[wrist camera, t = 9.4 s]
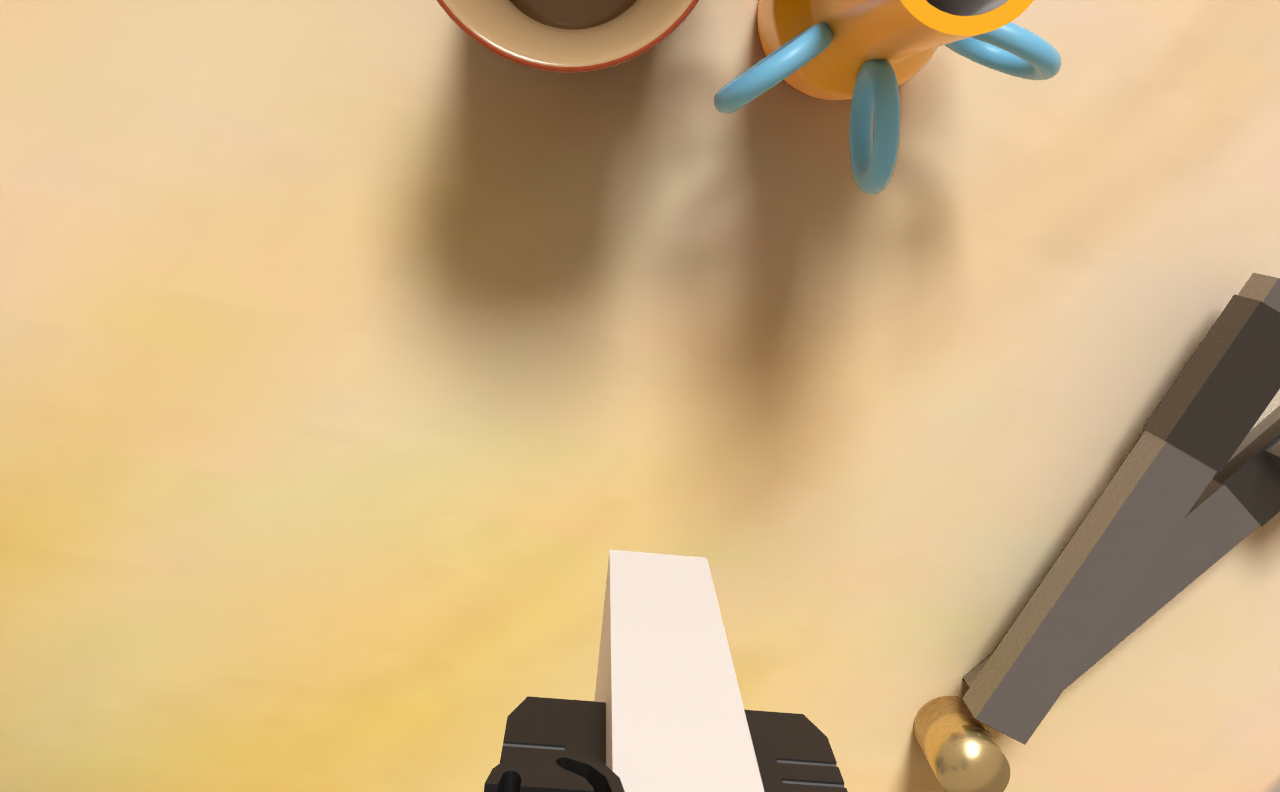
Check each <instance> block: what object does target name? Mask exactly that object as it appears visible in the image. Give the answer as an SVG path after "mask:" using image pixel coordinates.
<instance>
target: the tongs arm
mask: <svg viewBox="0 0 1280 792" xmlns="http://www.w3.org/2000/svg"><path fill="white" fill-rule="evenodd" d="M1279 389H1280V279H1279V278H1275V277H1270V276H1266V275H1261V274H1256V273H1253V274H1252V275H1251V277H1250V278H1249V280H1248V281H1247V282H1246V284H1245V285H1244V287H1243V288H1242V290H1241V291H1240V293H1239V294H1238V295H1234V296H1233V297H1232V299H1231V300H1230V302H1229V303H1228V305H1227V306H1226V308H1225V309H1224V311H1223V312H1222V313H1221V315H1220V316H1219V318H1218V319H1217V321H1216V322H1215V324H1214V325H1213V327H1212V328H1211V330H1210V331H1209V332H1208V334H1207V335H1206V337H1205V338H1204V340H1203V341H1202V343H1201V344H1200V346H1199V347H1198V349H1197V350H1196V352H1195V353H1194V354H1193V356H1192V357H1191V359H1190V360H1189V362H1188V363H1187V365H1186V366H1185V368H1184V369H1183V371H1182V372H1181V374H1180V375H1179V376H1178V378H1177V379H1176V381H1175V382H1174V384H1173V385H1172V387H1171V388H1170V390H1169V391H1168V393H1167V394H1166V395H1165V397H1164V398H1163V400H1162V401H1161V403H1160V404H1159V406H1158V407H1157V409H1156V410H1155V412H1154V413H1153V415H1152V416H1151V417H1150V419H1149V420H1148V422H1147V423H1146V425H1145V426H1144V428H1143V429H1144V430H1145V432H1144V433H1143V435H1142V436H1141V438H1140V439H1139V441H1138V442H1137V443H1136V445H1135V446H1134V448H1133V449H1132V451H1131V452H1130V454H1129V455H1128V457H1127V458H1126V460H1125V461H1124V462H1123V464H1122V465H1121V467H1120V468H1119V470H1118V471H1117V473H1116V474H1115V476H1114V477H1113V479H1112V480H1111V482H1110V483H1109V484H1108V486H1107V487H1106V489H1105V490H1104V492H1103V493H1102V495H1101V496H1100V498H1099V499H1098V501H1097V502H1096V503H1095V505H1094V506H1093V508H1092V509H1091V511H1090V512H1089V514H1088V515H1087V517H1086V518H1085V520H1084V521H1083V523H1082V524H1081V525H1080V527H1079V528H1078V530H1077V531H1076V533H1075V534H1074V536H1073V537H1072V539H1071V540H1070V542H1069V543H1068V544H1067V546H1066V547H1065V549H1064V550H1063V552H1062V553H1061V555H1060V556H1059V558H1058V559H1057V561H1056V562H1055V563H1054V565H1053V566H1052V568H1051V569H1050V571H1049V572H1048V574H1047V575H1046V577H1045V578H1044V580H1043V581H1042V583H1041V584H1040V585H1039V587H1038V588H1037V590H1036V591H1035V593H1034V594H1033V596H1032V597H1031V599H1030V600H1029V602H1028V603H1027V604H1026V606H1025V607H1024V609H1023V610H1022V612H1021V613H1020V615H1019V616H1018V618H1017V619H1016V621H1015V622H1014V623H1013V625H1012V626H1011V628H1010V629H1009V631H1008V632H1007V634H1006V635H1005V637H1004V638H1003V640H1002V641H1001V643H1000V644H999V645H998V647H997V648H996V650H995V651H994V653H993V654H992V656H991V657H990V659H989V660H988V662H987V663H986V664H985V666H984V667H983V669H982V670H981V672H980V673H979V675H978V676H977V678H976V679H975V681H974V682H973V684H972V685H971V686H970V688H969V689H968V691H967V692H966V694H965V695H964V697H963V698H962V699H963V700H964V702H965V704H966V705H967V707H968V708H969V710H970V711H971V713H972V714H973V716H974V718H975V719H977V720H979V721H981V722H982V723H984V724H986V725H988V726H990V727H992V728H994V729H996V730H998V731H1000V732H1002V733H1004V734H1006V735H1007V736H1009V737H1011V738H1013V739H1015V740H1017V741H1019V742H1021V743H1023V744H1026V743H1027V741H1028V740H1029V738H1030V737H1031V736H1032V734H1033V733H1034V731H1035V730H1036V728H1037V727H1038V726H1039V724H1040V723H1041V721H1042V720H1043V718H1044V717H1045V716H1046V714H1047V713H1048V711H1049V710H1050V709H1051V707H1052V706H1053V704H1054V703H1055V701H1056V700H1057V699H1058V697H1059V696H1060V694H1061V693H1062V691H1063V690H1064V689H1065V687H1066V686H1067V684H1068V683H1069V682H1070V680H1071V679H1072V677H1073V676H1074V674H1075V673H1076V672H1077V670H1078V669H1079V667H1080V666H1081V664H1082V663H1083V662H1084V660H1085V659H1086V657H1087V656H1088V655H1089V653H1090V652H1091V650H1092V649H1093V647H1094V646H1095V645H1096V643H1097V642H1098V640H1099V639H1100V637H1101V636H1102V635H1103V633H1104V632H1105V630H1106V629H1107V628H1108V626H1109V625H1110V623H1111V622H1112V620H1113V619H1114V618H1115V616H1116V615H1117V613H1118V612H1119V610H1120V609H1121V608H1122V606H1123V605H1124V603H1125V602H1126V600H1127V599H1128V598H1129V596H1130V595H1131V593H1132V592H1133V591H1134V589H1135V588H1136V586H1137V585H1138V583H1139V582H1140V581H1141V579H1142V578H1143V576H1144V575H1145V573H1146V572H1147V571H1148V569H1149V568H1150V566H1151V565H1152V564H1153V562H1154V561H1155V559H1156V558H1157V556H1158V555H1159V554H1160V552H1161V551H1162V549H1163V548H1164V546H1165V545H1166V544H1167V542H1168V541H1169V539H1170V538H1171V537H1172V535H1173V534H1174V532H1175V531H1176V529H1177V528H1178V527H1179V525H1180V524H1181V522H1182V521H1183V519H1184V518H1185V517H1186V515H1187V514H1188V512H1189V511H1190V510H1191V508H1192V507H1193V505H1194V504H1195V502H1196V501H1197V500H1198V498H1199V497H1200V495H1201V494H1202V492H1203V491H1204V490H1205V488H1206V487H1207V485H1208V484H1209V483H1210V481H1211V480H1212V478H1213V477H1214V475H1215V474H1216V473H1217V471H1218V472H1219V473H1221V471H1222V470H1223V468H1224V467H1225V465H1226V464H1227V463H1228V461H1229V460H1230V458H1231V457H1232V456H1233V454H1234V453H1235V451H1236V450H1237V448H1238V447H1239V446H1240V444H1241V443H1242V441H1243V440H1244V438H1245V437H1246V436H1247V434H1248V433H1249V431H1250V430H1251V429H1252V427H1253V426H1254V424H1255V423H1256V421H1257V420H1258V419H1259V417H1260V416H1261V414H1262V413H1263V412H1264V410H1265V409H1266V407H1267V406H1268V404H1269V403H1270V402H1271V400H1272V399H1273V397H1274V396H1275V394H1276V393H1277V392H1278V390H1279Z"/></svg>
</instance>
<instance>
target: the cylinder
mask: <svg viewBox="0 0 1280 792" xmlns="http://www.w3.org/2000/svg"><path fill="white" fill-rule="evenodd" d="M1033 1H1034V0H759V4H758V16H757V19H758V31H759V37H760V41H761V45H762V48H763V51H764V53H765V55H766V57H765V58H763V59H762V60H760V61H759V62H758V63H756V64H755V65H753V66H752V67H750V68H749V69H748V70H746V71H745V72H743V73H742V74H741V75H739V76H738V77H736V78H735V79H734V80H732V81H731V82H730V83H728V84H727V85H726V86H724V87H723V88H722V89H720V90H719V91H718V92H717V94H716V95H715V98H714V104H715V107H716V109H717V110H718V111H720V112H721V113H731V112H734V111H736V110H737V109H739V108H741V107H743V106H744V105H746V104H748V103H749V102H751V101H752V100H754V99H755V98H757V97H759V96H760V95H762V94H763V93H765V92H766V91H768V90H769V89H771V88H772V87H774V86H775V85H777V84H778V83H780V82H781V81H783V80H784V81H785V82H787V83H788V84H789V85H790V86H792V87H793V88H795V89H796V90H798V91H800V92H802V93H804V94H806V95H809V96H812V97H815V98H819V99H824V100H848V99H852V102H851V110H850V125H849V145H850V159H851V166H852V171H853V175H854V179H855V181H856V184H857V185H858V187H859V188H860V189H861V190H862V191H863V192H865V193H867V194H876V193H879V192H881V191H882V190H883V189H884V188H885V187H886V186H887V184H888V182H889V181H890V178H891V176H892V173H893V170H894V167H895V162H896V158H897V152H898V145H899V135H900V97H899V88H898V86H899V85H901V84H903V83H904V82H906V81H907V80H909V79H910V78H911V77H913V76H914V75H915V74H916V73H917V72H919V71H920V70H921V69H922V68H923V67H924V65H925V64H926V63H927V62H928V61H929V59H930V58H931V57H932V55H933V54H934V52H935V51H936V49H937V47H938V46H941V45H945V46H947V47H948V48H950V49H951V50H953V51H955V52H956V53H958V54H960V55H962V56H964V57H966V58H968V59H970V60H972V61H974V62H976V63H979V64H981V65H983V66H986V67H988V68H991V69H994V70H997V71H999V72H1002V73H1006V74H1009V75H1012V76H1016V77H1020V78H1025V79H1031V80H1046V79H1049V78H1051V77H1053V76H1055V75H1056V74H1057V73H1058V71H1059V70H1060V67H1061V58H1060V55H1059V53H1058V52H1057V50H1056V49H1055V48H1054V47H1053V46H1052V45H1051V44H1049V43H1048V42H1047V41H1045V40H1044V39H1042V38H1041V37H1039V36H1037V35H1036V34H1034V33H1032V32H1030V31H1028V30H1027V29H1025V28H1022V27H1020V26H1018V25H1016V24H1014V23H1011V21H1013V20H1014V19H1015V18H1017V17H1018V16H1019V15H1020V14H1021V13H1023V12H1024V11H1025V10H1026V9H1027V8H1028V7H1029V6H1030V4H1031V3H1032V2H1033ZM873 116H874V137H873Z"/></svg>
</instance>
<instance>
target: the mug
mask: <svg viewBox="0 0 1280 792" xmlns="http://www.w3.org/2000/svg"><path fill="white" fill-rule="evenodd" d="M437 1H438V3H439V4H440V6H441V7H442V8H443V9H444V11H445V12H446V13H447V14H448V16H449V17H450V18H451V19H452V20H453V21H454V22H455V23H456V24H457V25H458V26H459V27H460V28H461V29H462V30H463V31H464V32H465V33H466V34H468V35H469V36H470V37H471V38H472V39H474V40H475V41H476V42H478V43H479V44H481V45H482V46H484V47H485V48H486V49H488V50H490V51H492V52H493V53H495V54H497V55H499V56H501V57H503V58H505V59H507V60H510V61H512V62H514V63H517V64H520V65H523V66H526V67H530V68H534V69H539V70H543V71H550V72H560V73H578V72H589V71H595V70H600V69H605V68H609V67H612V66H615V65H618V64H621V63H624V62H626V61H628V60H631V59H633V58H635V57H637V56H639V55H641V54H643V53H644V52H646V51H648V50H650V49H651V48H653V47H654V46H655V45H657V44H658V43H660V42H661V41H662V40H664V39H665V38H666V37H667V36H668V35H670V34H671V33H672V32H673V31H674V30H675V29H676V28H677V27H678V26H679V25H680V24H681V23H682V22H683V21H684V20H685V18H686V17H687V16H688V15H689V13H690V12H691V11H692V10H693V8H694V7H695V6H696V4H697V2H698V1H699V0H437Z"/></svg>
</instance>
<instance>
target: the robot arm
mask: <svg viewBox="0 0 1280 792" xmlns="http://www.w3.org/2000/svg"><path fill="white" fill-rule="evenodd" d="M484 792H847V789H846V788H844V781H843V778H842V776H841V773H840V770H839V768H838V767H836V760H835V757H834V754H833V752H832V749H831V746H830V744H829V741H828V738H827V737H826V736H825V735H824V734H823V733H822V732H821V731H820V730H819V729H818V728H817V727H816V726H815V725H814V724H813V723H812V722H811V721H810V720H808V719H807V718H806V717H805V716H804V715H803V714H792V713H779V712H765V711H752V710H744V707H743V703H742V699H741V695H740V691H739V686H738V682H737V678H736V674H735V670H734V666H733V662H732V658H731V654H730V650H729V646H728V642H727V638H726V634H725V630H724V625H723V621H722V617H721V613H720V609H719V605H718V601H717V597H716V593H715V589H714V585H713V581H712V577H711V573H710V569H709V564H708V560H707V558H704V557H692V556H680V555H667V554H655V553H643V552H631V551H619V550H610V552H609V562H608V572H607V582H606V592H605V602H604V612H603V622H602V632H601V642H600V652H599V662H598V672H597V682H596V692H595V702H593V701H579V700H566V699H553V698H539V697H527V698H526V699H525V700H524V701H523V702H522V703H521V704H520V705H519V706H518V707H517V708H516V709H515V710H514V711H513V712H512V713H511V714H510V715H509V716H508V718H507V724H506V730H505V736H504V742H503V748H502V754H501V760H500V764H499V765H497V766H496V767H494V768H493V769H492V771H491V773H490V775H489V777H488V778H487V780H486V782H485V787H484Z"/></svg>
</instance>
